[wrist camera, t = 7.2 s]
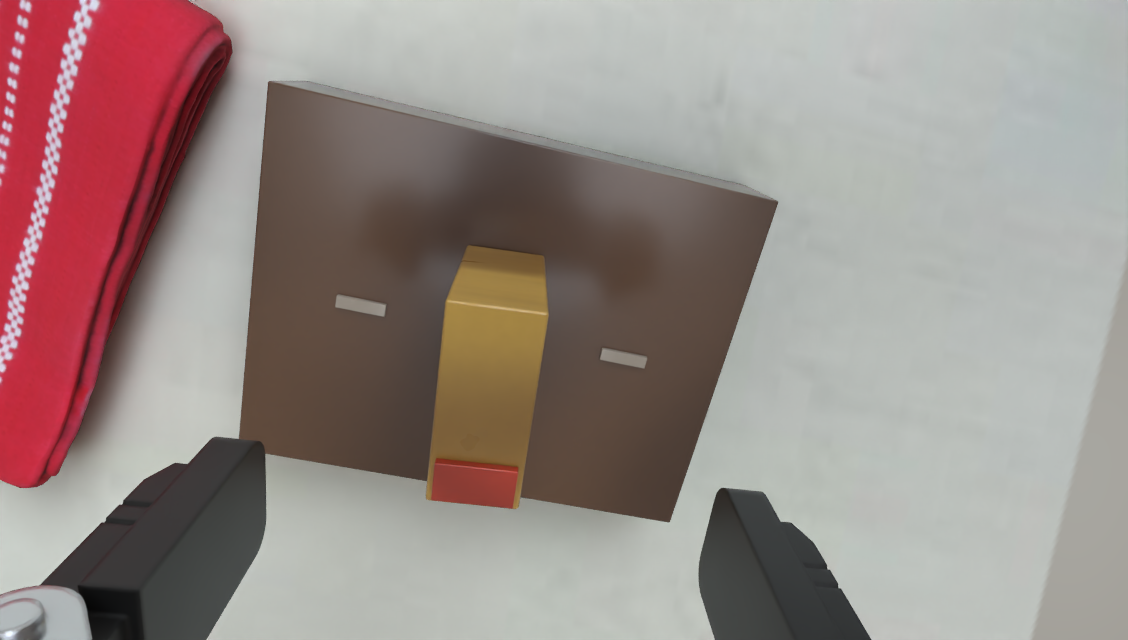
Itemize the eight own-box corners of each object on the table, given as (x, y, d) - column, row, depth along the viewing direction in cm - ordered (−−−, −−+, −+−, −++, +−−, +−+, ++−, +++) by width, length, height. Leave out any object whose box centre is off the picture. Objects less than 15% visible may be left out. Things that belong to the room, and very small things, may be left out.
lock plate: (746, 185, 21) (781, 202, 18) (654, 473, 25) (671, 526, 22) (305, 80, 20) (265, 80, 17) (273, 404, 23) (235, 452, 20)
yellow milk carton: (466, 244, 19) (443, 302, 14) (544, 255, 19) (549, 317, 14) (449, 403, 20) (423, 507, 15) (521, 411, 20) (518, 517, 15)
